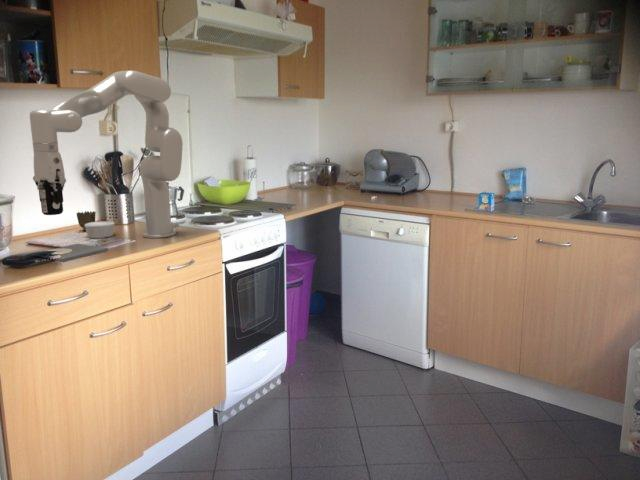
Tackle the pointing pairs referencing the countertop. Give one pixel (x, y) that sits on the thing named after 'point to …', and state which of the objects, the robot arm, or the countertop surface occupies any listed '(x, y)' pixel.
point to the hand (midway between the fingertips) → (51, 201)
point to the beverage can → (48, 199)
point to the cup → (85, 218)
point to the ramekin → (100, 229)
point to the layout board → (77, 251)
